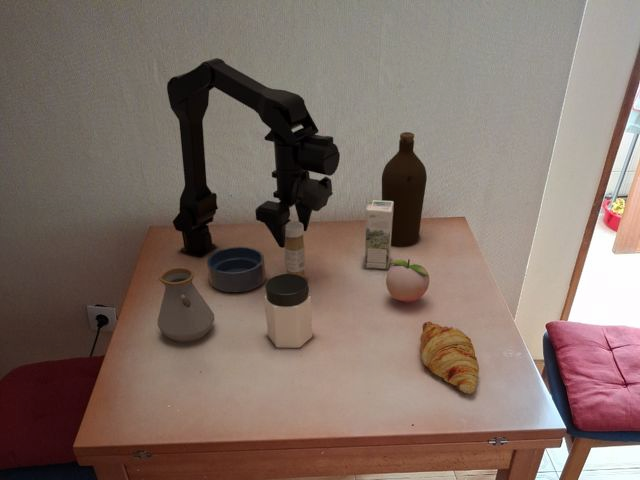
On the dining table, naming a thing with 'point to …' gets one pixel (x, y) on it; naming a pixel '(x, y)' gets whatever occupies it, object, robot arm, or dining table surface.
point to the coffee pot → (183, 307)
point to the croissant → (450, 356)
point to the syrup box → (378, 234)
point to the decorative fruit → (407, 280)
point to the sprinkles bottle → (294, 249)
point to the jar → (288, 310)
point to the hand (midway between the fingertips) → (293, 238)
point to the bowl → (236, 269)
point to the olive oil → (405, 191)
